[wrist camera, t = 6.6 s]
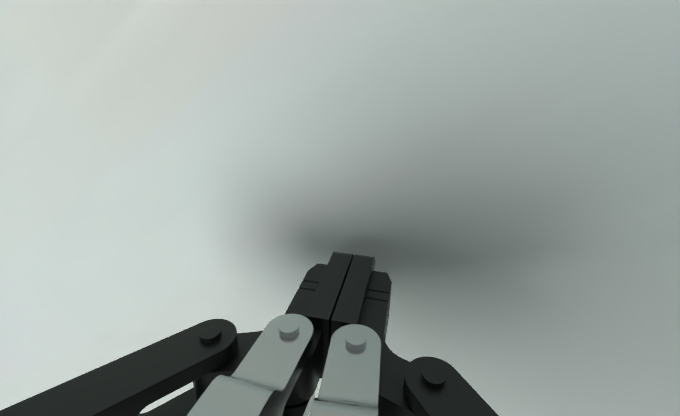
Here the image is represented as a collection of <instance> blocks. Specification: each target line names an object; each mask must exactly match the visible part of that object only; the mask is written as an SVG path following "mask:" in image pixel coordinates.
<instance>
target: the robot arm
mask: <svg viewBox="0 0 680 416" xmlns="http://www.w3.org/2000/svg"><path fill="white" fill-rule="evenodd" d="M374 264H375V258H374V257H369V256H362V255H353V254H345V253H338V252H333V254H332V256H331V258H330V260H329V263H328V265H325V264H317V265H315V266H314V267H312V268H311V269H310V270H308V272H307V274H306V276H305V278H304V279H303V281H302V283H301V285H300V287H299V289H298V291H297V292H296V294H295V296H294V298H293V300H292V302H291V304H290V305H289V307H288V309H287V311H286V313H285V314H284V315H281V316H278V317H276V318H274V319H273V320H271V321H270V322H269V323H268V325H267V326H266V327H265V329H264V330H263V331H259V332H249V333H237V331H236V327H235V325H234V324H233V323H231V322H230V321H228V320H224V319H212V320H207V321H204V322H202V323H199V324H197V325H195V326H193V327H190V328H188V329H186V330H183V331H181V332H179V333H177V334H174V335H172V336H170V337H167V338H165V339H163V340H161V341H158V342H156V343H154V344H151V345H149V346H147V347H145V348H142V349H140V350H138V351H136V352H133V353H131V354H129V355H126V356H124V357H122V358H120V359H117V360H115V361H113V362H110V363H108V364H106V365H104V366H101V367H99V368H97V369H94V370H92V371H90V372H88V373H85V374H83V375H81V376H78V377H76V378H74V379H72V380H69V381H67V382H65V383H62V384H60V385H58V386H56V387H53V388H51V389H49V390H46V391H44V392H42V393H40V394H37V395H35V396H33V397H30V398H28V399H26V400H24V401H21V402H19V403H17V404H14V405H12V406H10V407H8V408H5V409H3V410H1V411H0V416H308V415H309V416H498V415H497V414H496V413H495V412H494V410H493V409H492V408H491V407H490V406H489V405H488V404H487V403H486V402H485V401H484V400H483V399H482V398H481V397H480V395H479V394H478V393H477V392H476V391H475V390H474V389H473V388H472V387H471V386H470V385H469V384H468V383H467V381H466V380H465V379H464V378H463V377H462V376H461V375H460V374H459V373H458V372H457V371H456V370H455V369H454V368H453V367H452V366H451V365H450V364H448V363H447V362H445V361H443V360H441V359H438V358H434V357H420V358H416V359H414V360H413V361H411V362H408V361H406V360H404V359H402V358H400V357H398V356H397V355H395V354H394V353H393V352H392V351H391V350H390V349H389V348H388V346H387V345H386V343H385V339H386V332H387V325H388V318H389V307H390V296H391V284H392V282H391V280H390V278H389V276H388V274H387V273H385V272H377V271H374ZM319 378H322V381H321V386H320V390H319V395H318V398H315V390H316V387H317V384H318V381H319ZM191 382H193V385H194V388H192V389H190V390H188V391H186V392H184V393H182V394H181V395H179V396H177V397H175V398H173V399H171V400H169V401H168V402H166V403H164V404H162V405H160V406H158V407H156V408H155V409H153V410H151V411H149V412H146V413H143V414H139V413H140V412H141V410H142V409H143V408H145V407H146V406H147V405H149V404H151V403H153V402H155V401H156V400H158V399H160V398H162V397H164V396H166V395H168V394H170V393H172V392H174V391H175V390H177V389H179V388H181V387H183V386H185V385H187V384H189V383H191Z"/></svg>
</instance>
